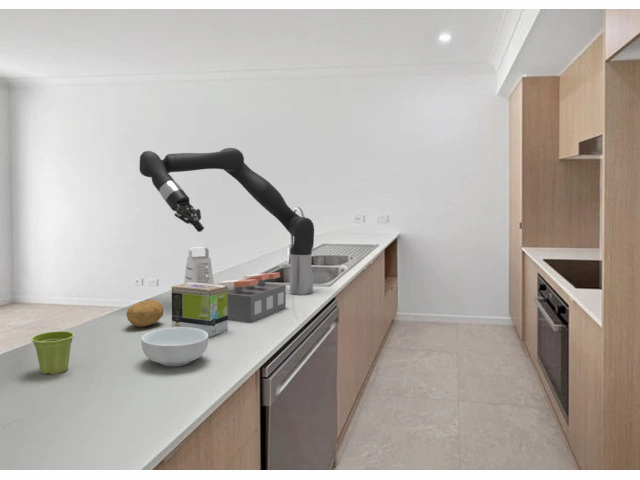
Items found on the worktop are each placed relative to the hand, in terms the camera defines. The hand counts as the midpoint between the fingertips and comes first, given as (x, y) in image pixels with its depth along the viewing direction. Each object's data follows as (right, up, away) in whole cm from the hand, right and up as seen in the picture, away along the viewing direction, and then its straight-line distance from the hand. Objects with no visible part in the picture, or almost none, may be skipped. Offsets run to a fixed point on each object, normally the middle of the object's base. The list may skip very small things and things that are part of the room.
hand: (201, 230), depth 193 cm
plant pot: (-22, -36, -62) cm, 75 cm away
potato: (-14, -32, -19) cm, 40 cm away
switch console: (+19, -30, +4) cm, 36 cm away
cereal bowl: (+5, -36, -54) cm, 65 cm away
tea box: (+5, -33, -24) cm, 41 cm away
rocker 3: (+21, -17, +8) cm, 28 cm away
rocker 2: (+18, -18, 0) cm, 25 cm away
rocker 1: (+14, -19, -7) cm, 25 cm away
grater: (-9, -27, +34) cm, 44 cm away
